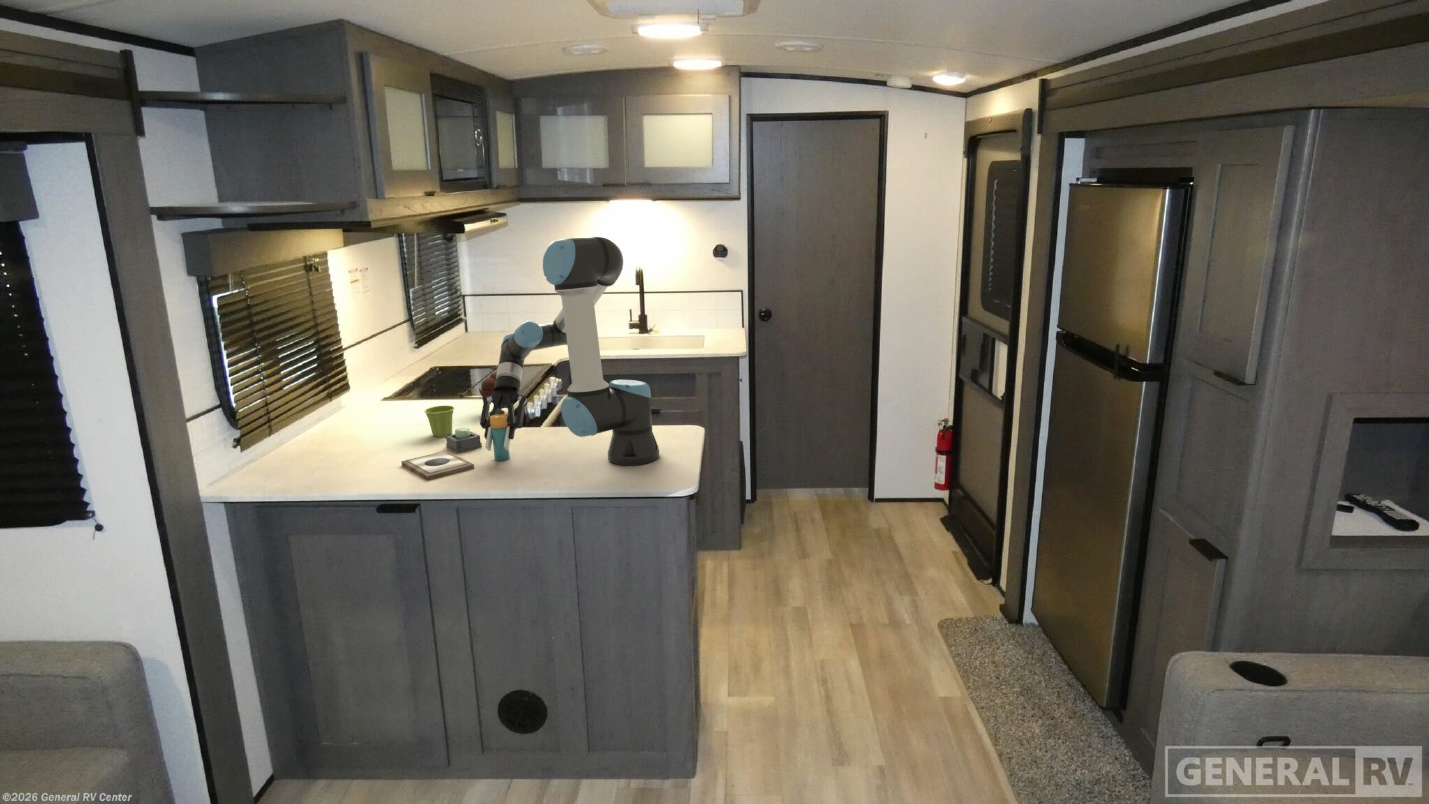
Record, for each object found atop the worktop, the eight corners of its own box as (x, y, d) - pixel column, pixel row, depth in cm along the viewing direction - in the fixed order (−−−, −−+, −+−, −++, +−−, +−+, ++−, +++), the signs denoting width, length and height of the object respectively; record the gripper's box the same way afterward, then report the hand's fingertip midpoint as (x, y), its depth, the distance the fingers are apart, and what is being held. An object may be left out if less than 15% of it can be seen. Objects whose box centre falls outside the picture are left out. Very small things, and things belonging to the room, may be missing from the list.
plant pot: (426, 440, 274) (423, 414, 272) (428, 432, 283) (425, 406, 280) (456, 437, 276) (454, 411, 274) (457, 429, 285) (454, 404, 283)
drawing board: (474, 468, 246) (473, 463, 246) (427, 480, 237) (426, 475, 237) (447, 454, 259) (446, 449, 259) (401, 465, 250) (401, 460, 250)
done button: (473, 438, 265) (472, 429, 264) (459, 442, 262) (458, 432, 261) (466, 436, 268) (465, 426, 267) (453, 439, 265) (452, 429, 265)
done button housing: (481, 446, 265) (480, 435, 264) (457, 452, 260) (456, 441, 259) (470, 441, 271) (469, 430, 270) (446, 447, 266) (445, 436, 265)
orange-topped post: (513, 458, 254) (509, 416, 250) (498, 461, 251) (494, 419, 247) (505, 454, 257) (501, 413, 254) (491, 458, 254) (486, 416, 251)
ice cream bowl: (496, 408, 310) (492, 367, 306) (519, 411, 304) (515, 370, 300) (474, 415, 301) (470, 374, 297) (497, 419, 295) (493, 377, 292)
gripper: (539, 386, 263) (530, 454, 252) (483, 387, 265) (471, 454, 253) (533, 373, 257) (523, 442, 245) (476, 374, 258) (463, 442, 246)
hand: (497, 448), depth 249 cm, fingers closed on orange-topped post, 5 cm apart
